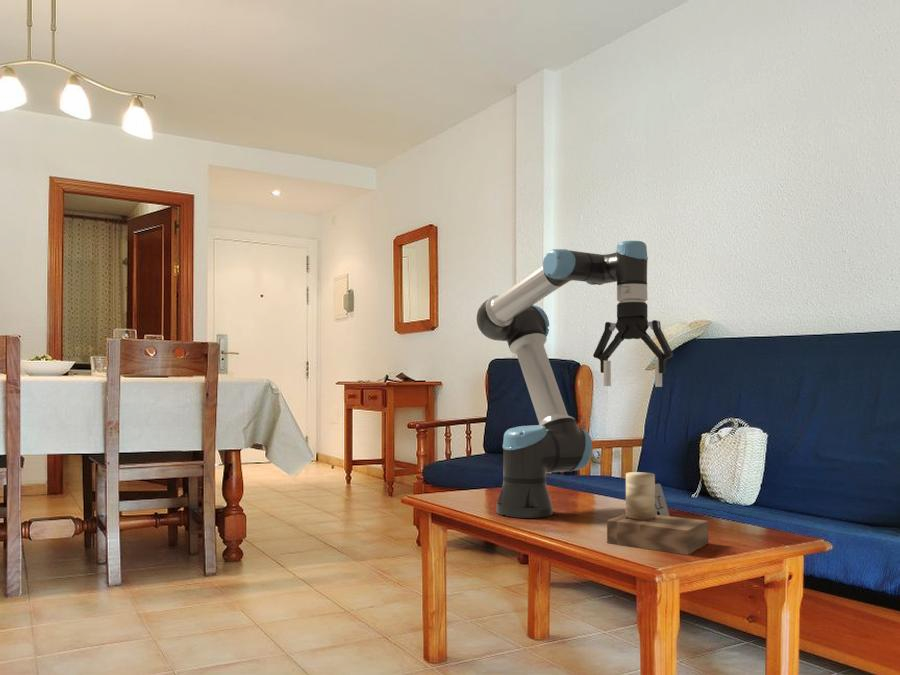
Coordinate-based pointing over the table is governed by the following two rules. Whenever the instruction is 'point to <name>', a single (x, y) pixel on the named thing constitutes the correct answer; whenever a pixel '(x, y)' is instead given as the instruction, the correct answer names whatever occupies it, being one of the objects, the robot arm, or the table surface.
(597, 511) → the table surface
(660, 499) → the electrical switch
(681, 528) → the board
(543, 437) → the robot arm
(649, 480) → the leg peg
